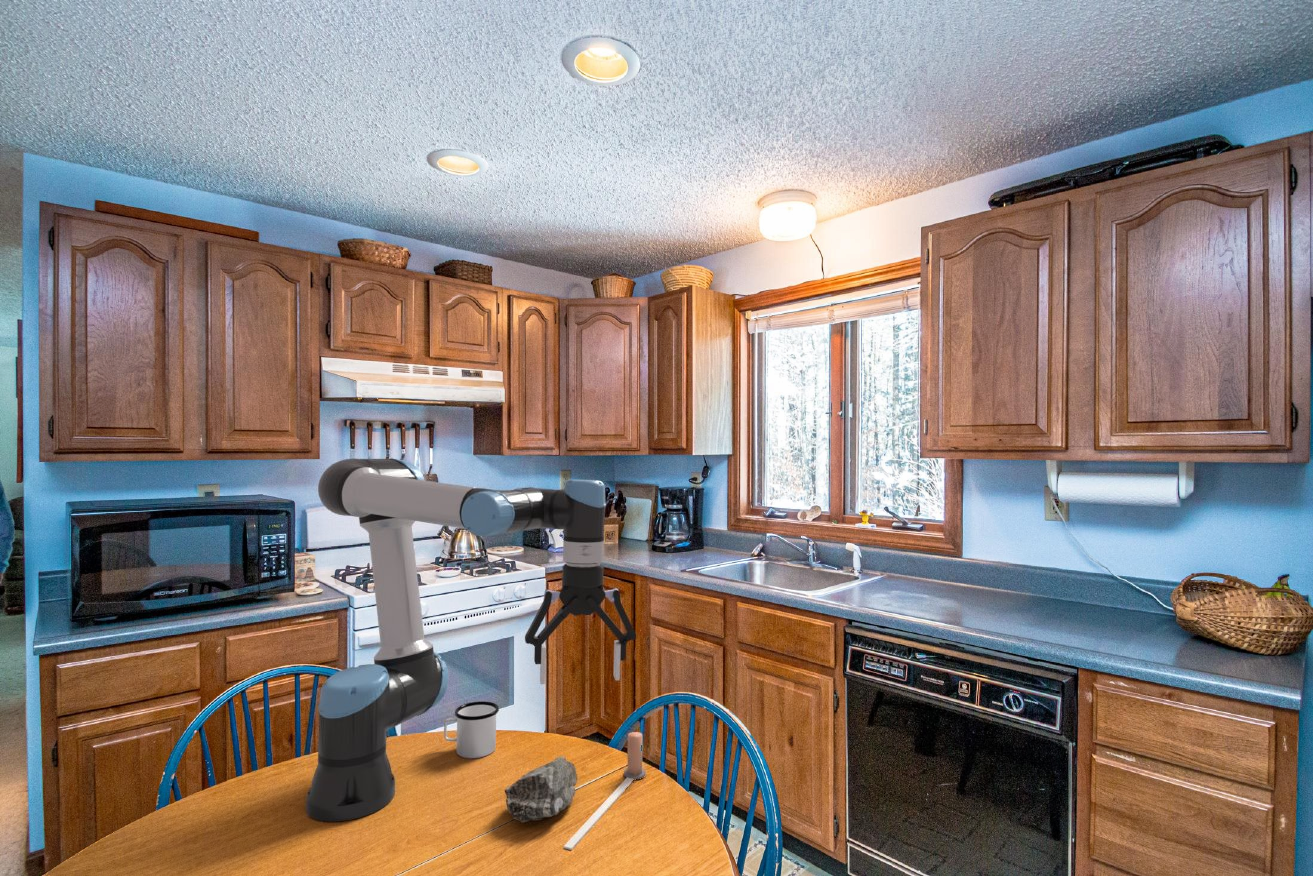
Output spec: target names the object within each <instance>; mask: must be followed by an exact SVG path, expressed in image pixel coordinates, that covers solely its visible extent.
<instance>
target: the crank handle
mask: <svg viewBox="0 0 1313 876" xmlns="http://www.w3.org/2000/svg"><path fill="white" fill-rule="evenodd" d="M641 745H642V746H643V733H642V732H639V731H631V732H629V733H628V734H627V768H626V769H625V770H624V771H623V776H625V777H626V778H625V777H624V778H625V779H624V780H623V781H622V782H621V783H620V785H619V786H618V787H617V788H616V789H615V790H614V791H613V792H612V793H611V794H610V795H609V797H608V798H607V799H606V800H605V801H604V802H603V803H602V804H601V805H600V806H599V807H598V808H597V809H596V810H595V811H594V813H593V814H592V815H591V816H590V817H589V818H588V819H587V820H586V821H585V823H584V824H583V825H582V826H581V827H580V828H579V829H578V830H577V831H576V832H575V833H574V835H572V836H571V838H569V840H567V842H566V843H565V844H564V845H563V849H566V850H569V851H573V849H574V848H575V847H576V846H577V845H578V844H579V842H581V840H583V838H584V837H585V836H586V835H587V834H588V833H589V831H590V830H591V829H593V827H594V826H596V823H597V822H599V820H600V819H601V818H602V817H603V815H605V813H606V812H607V811H608V810H609V809H610V807H612V805H614V803H615V802H616V801H617V800H618V799H619V797H621V795H622V794H623V793H625V791H626V790H627V789H628V788H627V787H629V786H631V784H632V783H633V782H634V781H635V780H634V779H640V778H643V777H644V776H645V775H647V774H646V773H647V772H646V769H644V768H643V750H642V751H641ZM645 777H646V776H645ZM645 777H644V778H645ZM644 778H643V779H644ZM633 780H634V781H633ZM640 780H641V779H640ZM632 781H633V782H632ZM631 782H632V783H631ZM626 788H627V789H626ZM625 789H626V790H625Z"/></svg>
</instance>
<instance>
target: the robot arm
mask: <svg viewBox="0 0 1313 876" xmlns="http://www.w3.org/2000/svg"><path fill="white" fill-rule="evenodd" d="M317 485H318V486H317V492H318V497H319V499H320V501H321V503H322V505H323V507H325V508H326V509H327V510H328V511H330V512H331V513H333V514H335V515H339V516H346V517H355V518H358V521H359V527H361V528H362V529H364V530H365V531H366V532H367V533H368V540H369V549H370V550H369V551H370V559H371V567H372V568H371V569H372V575H373V576H372V577H373V587H374V594H375V595H374V597H375V606H376V613H377V624H378V633H379V642H380V648H379V649H378V651H377V653H376V654H375V655H374V656H373V661H374V662H373V663H374V664H373V663H372V664H371V663H369V664H360V665H358V666H356V667H355V666H351V667H348V668H345V669H342V670H340V671H337V672H336V673H334V674H332V675H331V676H329V677H328V678H327V679H326V680H325V682H324V683H323V684H322V685H321V688H320V697H319V702H318V706H317V707H318V708H317V710H318V745H317V746H318V747H317V753H318V754H317V765H316V768H315V771H314V774H313V778H312V780H311V785H310V788H309V789H308V791H307V793H306V796H305V812H306V815H308V817H310V818H312V819H313V820H317V821H320V822H329V823H331V822H344V821H350V820H351V821H352V820H354V819H359V818H362V817H366V816H368V815H371V814H373V813H375V812H378V811H380V810H382V808H384V807H386V806H387V805H388V804H389V803H390V802H392V800H393V799H394V798H395V794H396V779H395V778H396V777H395V776H394V774H393V771H392V767H391V764H390V761H389V758H388V755H387V733H388V731H389V730H390V729H393V728H395V727H397V726H398V725H401V724H402V723H405V722H408V721H409V720H411V719H413V718H416V717H418V716H421V715H423V714H426V713H427V712H428V711H429V710H431V709H432V708H435V706H437V705H438V704H439V703H440V702H441V701H442V699H443V697H444V696H445V695H446V691H447V689H448V686H449V669H448V667H447V664H446V662H445V660H442V656H441V655H440V654H438V653H436V651H435V652H434V644H433V643H431V642H430V641H428V640H427V639H426V638H425V632H424V631H425V630H424V624H423V623H424V621H423V615H422V605H421V596H420V589H419V588H420V587H419V586H420V585H419V578H418V571H417V562H416V553H415V544H414V535H413V524H414V523H415V522H420V523H427V524H433V525H439V526H446V527H452V528H457V529H464V530H468V532H469V533H471V535H473V536H477V537H496V536H499V535H504V534H510V533H515V532H516V533H517V532H522V531H529V530H534V529H536V530H537V529H545V530H547V529H549V530H559V531H561V530H563V539H562V540H563V545H562V548H563V549H562V561H563V562H564V564H563V565H562V575H561V576H562V577H561V578H562V579H561V589H560V591H556V590H555V591H554V590H551V589H549V588H547V589H545V590H544V593H543V601H542V603H541V605H540V607H539V608H538V610H537V612H536V615H535V616H534V618H533V621H532V622H531V624H530V626H529V627H528V629H527V632H526V633H525V635H524V641H525V644H527V645H532V646H533V647H534V657H533V658H534V659H533V660H534V663H535V665H540V667H539V684H540V685H545V684H546V657H547V656H546V655H547V654H546V653H547V646H546V643H545V642H546V641H547V640H548V638H549V637H550V636H551V635H552V634H553V633H554V632H555V630H556V629H557V628H558V627H559V626H560V624H561V623H562V622H563V621H564V620H565V619H566V618H567V617H568V616H569V615H570V614H571V615H573V616H576V617H577V616H581V615H584V616H591V615H593V614H594V613H595V614H596V615H597V616H598V617H599V618H600V619H601V621H602V622H603V623H604V624H605V625H606V627H608V629H609V630H610V631H611V632H612V634H613V635H614V636H615V637H616V638H617V640H614V643H613V644H614V645H613V677H614V680H615V681H620V680H621V661H622V662H623V661H626V658H627V644H628V642H630V641H634V640H636V639H637V634H636V632H635V629H634V628H633V625H632V624H631V621H630V619H629V617H628V615H627V612H626V610H625V608H624V606H623V604H622V601H621V592H620V591H619V589H618V588H616V587H613V588H612V589H608V590H604V589H605V588H604V566H603V564H602V563H603V562H604V559H605V557H604V556H605V554H604V553H605V522H606V520H605V518H606V516H605V515H606V507H607V503H606V486H605V484H604V483H603V481H601V480H597V479H567V480H566V481H565V484H564V488H563V489H561V488H560V489H555V488H554V489H553V488H549V489H548V488H538V487H531V486H529V487H517V488H513V489H511V490H510V489H509V490H508V489H507V490H504V489H503V490H499V489H489V488H484V487H474V486H467V485H460V484H453V483H444V482H436V481H431V480H429V481H428V480H425V477H424V475H423V473H422V472H421V470H420V469H419V468H418V467H417V466H416V465H415V464H413V463H412V462H410V461H407V460H405V459H397V458H393V457H391V458H345V459H341V460H339V461H337V462H335V463H332V464H331V465H330V466H328V467H327V468H326V469H325V470H324V472H323V473H322V474H321V477H320V478H319V481H318V484H317ZM605 598H607V599H608V600H609V601H610V602H611V603H613V605H614V607H615V610H616V612H617V614H618V616H619V618H620V621H621V623H622V625H623V627H624V629H625V631H626V632H624V633H623V632H622V631H621V630H620V628H619V627H618V626H617V625H616V623H615V622H614V621H613V620H612V619H611V617H610V616H609V615H608V613H606V611H605V610H604V609H603V608H602V606H601V604H602V603H603V602H604V600H605ZM558 599H559V600H560V602H562V605H561V607H560V608H559V609H558V611H557V613H556V614H555V615H554V616H553V617H552V618H551V619H550V621H548V623H546V626H544V628H543V629H542V630H541V631H540V632H539V633H538V630H539V628H540V627H541V625H542V622H543V621H544V619H545V617H546V616H547V614H548V611H549V609H550V607H551V605H552V604H554V603H555V602H556V600H558ZM537 633H538V635H537V636H536V634H537Z"/></svg>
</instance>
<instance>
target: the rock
mask: <svg viewBox="0 0 1313 876" xmlns="http://www.w3.org/2000/svg"><path fill="white" fill-rule="evenodd" d="M577 783H578V774H577V770H576V767H575V764H574V763H572V762H570V761H568V760H567V758H566V757H564V756H558V757H556V758H555V759H554V760H552V761H550V762H548V763H546V764H543V765H542V766H539V767H536V768H534V769H532V770H530V771H528V772H527V773H526V774H523V775H521V777H520V778H519V779H517V780H516V781H515V782H513V783H512V784H511V785H509V786H507V788H505V789H504V793H505V795H506V799H505V802H506V805H505V806H506V808H507V812H508V813H509V814H512V818H513V819H512V820H516V821H519V822H521V823H525V822H530V821H541V820H543V819H544V818H550V817H553V816H557V815H558V814H559V813H560V812H561V811H564V810H565V809H566V808H567V807H568V806H569V805H571V804H572V802H573V800H574V796H575V795H576V788H575V786H576V784H577Z"/></svg>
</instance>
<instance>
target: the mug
mask: <svg viewBox="0 0 1313 876" xmlns="http://www.w3.org/2000/svg"><path fill="white" fill-rule="evenodd" d="M499 711H500V707H499V705H498V704H497V703H495V702H493V701H485V700H483V701H472V702H466V703H464V704H461V705H459V706H458V707H457V708H456V709H455V710H454V716H455V717H450V718H447V719H445V720H444V726H443V734H444V735H443V736H444V739H445V740H446V741H449V742H456V754H457V755H459V756H460V757H462V758H465V759H481V758H484V757H487V756H489V755H491V754H492V753H493V752H495V750H496V749H497V748H496V747H497V714H498V712H499ZM448 722H456V737H448V731H447V727H448Z"/></svg>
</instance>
